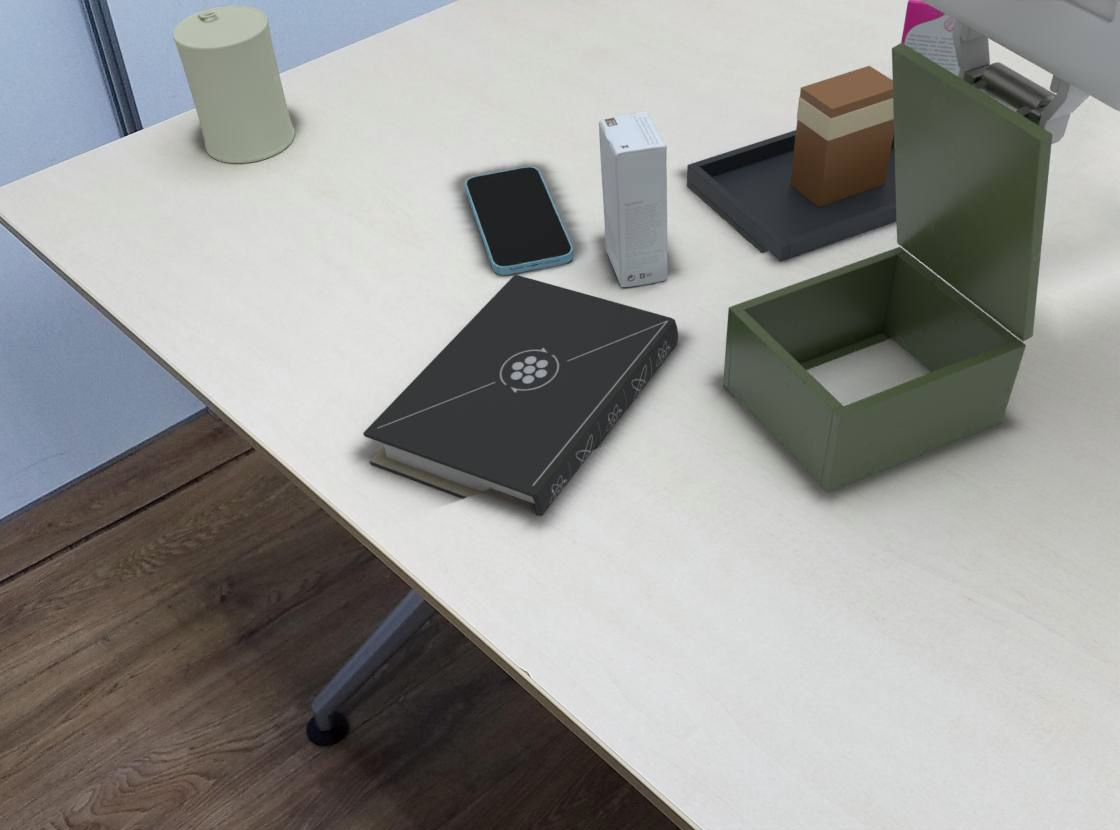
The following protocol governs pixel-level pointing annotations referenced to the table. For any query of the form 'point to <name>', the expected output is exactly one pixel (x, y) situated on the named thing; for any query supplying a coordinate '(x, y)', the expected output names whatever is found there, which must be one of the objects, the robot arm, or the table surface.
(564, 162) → the table surface
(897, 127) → the lid
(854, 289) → the green box base
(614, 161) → the cosmetic box
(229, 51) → the can
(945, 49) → the supplement box
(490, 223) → the smartphone
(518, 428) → the book
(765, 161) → the tray
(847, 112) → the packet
